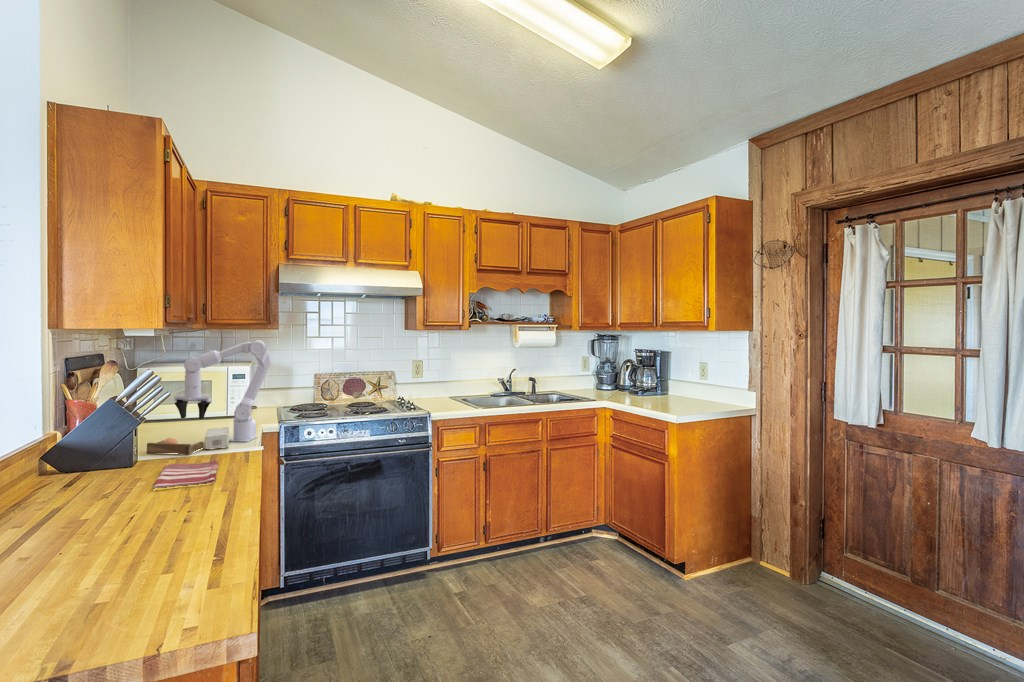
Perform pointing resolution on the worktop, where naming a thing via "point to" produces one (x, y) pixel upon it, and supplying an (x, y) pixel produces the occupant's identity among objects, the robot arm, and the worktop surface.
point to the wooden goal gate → (173, 448)
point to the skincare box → (217, 438)
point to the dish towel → (186, 474)
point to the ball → (170, 441)
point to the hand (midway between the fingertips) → (192, 418)
